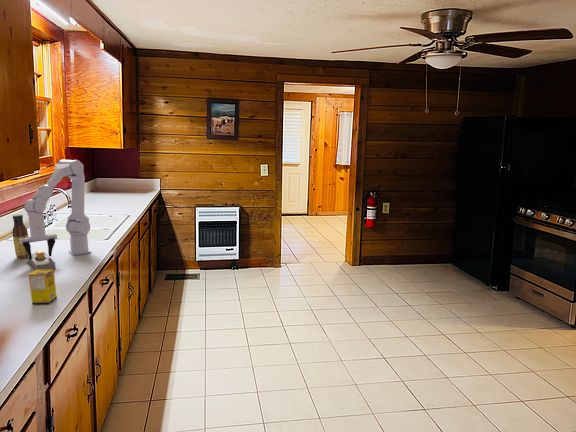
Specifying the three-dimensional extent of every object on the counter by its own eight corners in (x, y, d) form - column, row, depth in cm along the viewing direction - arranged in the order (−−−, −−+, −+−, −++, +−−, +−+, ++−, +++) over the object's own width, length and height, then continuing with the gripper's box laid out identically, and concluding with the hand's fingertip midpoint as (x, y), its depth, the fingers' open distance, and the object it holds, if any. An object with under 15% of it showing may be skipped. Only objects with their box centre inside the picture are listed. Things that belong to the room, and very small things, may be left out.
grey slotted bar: (27, 260, 218) (27, 254, 218) (44, 258, 223) (44, 251, 222) (37, 272, 201) (36, 265, 201) (55, 269, 205) (55, 262, 205)
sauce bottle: (27, 254, 229) (23, 213, 225) (33, 256, 225) (29, 214, 221) (13, 257, 224) (8, 215, 220) (18, 259, 220) (13, 216, 216)
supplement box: (57, 298, 172) (54, 268, 170) (49, 304, 166) (46, 273, 164) (39, 298, 172) (36, 268, 169) (31, 304, 166) (28, 274, 164)
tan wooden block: (37, 264, 213) (35, 251, 211) (43, 263, 214) (41, 250, 213) (39, 266, 210) (37, 253, 208) (45, 265, 211) (43, 252, 210)
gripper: (19, 230, 201) (23, 262, 204) (57, 226, 210) (60, 256, 212) (16, 227, 207) (20, 258, 209) (53, 223, 215) (56, 253, 218)
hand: (40, 257), depth 211 cm, fingers open, 7 cm apart
